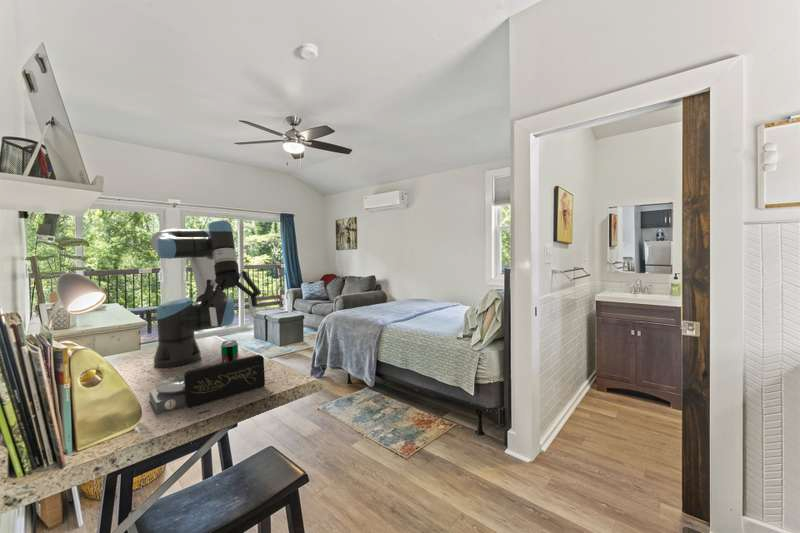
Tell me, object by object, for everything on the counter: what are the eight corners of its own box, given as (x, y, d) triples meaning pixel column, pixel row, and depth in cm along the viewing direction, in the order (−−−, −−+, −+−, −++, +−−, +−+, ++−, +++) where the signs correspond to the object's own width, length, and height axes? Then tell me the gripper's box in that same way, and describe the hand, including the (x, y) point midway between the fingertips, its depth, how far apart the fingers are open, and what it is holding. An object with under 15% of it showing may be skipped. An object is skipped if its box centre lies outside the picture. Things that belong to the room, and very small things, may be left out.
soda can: (235, 372, 118) (233, 338, 117) (242, 376, 115) (240, 341, 114) (220, 377, 114) (218, 342, 113) (226, 380, 111) (224, 344, 110)
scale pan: (153, 387, 98) (153, 382, 98) (196, 376, 106) (196, 371, 106) (160, 399, 90) (160, 393, 90) (206, 386, 98) (206, 381, 98)
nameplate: (262, 384, 108) (261, 353, 107) (265, 386, 106) (263, 355, 105) (186, 406, 94) (183, 371, 93) (187, 409, 92) (185, 373, 92)
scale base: (150, 400, 98) (149, 390, 97) (200, 386, 107) (200, 377, 106) (157, 414, 89) (156, 403, 89) (211, 397, 98) (211, 387, 98)
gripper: (184, 269, 117) (191, 330, 112) (255, 252, 118) (265, 311, 113) (197, 273, 124) (204, 330, 120) (264, 256, 125) (274, 313, 121)
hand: (234, 321), depth 117 cm, fingers open, 13 cm apart
